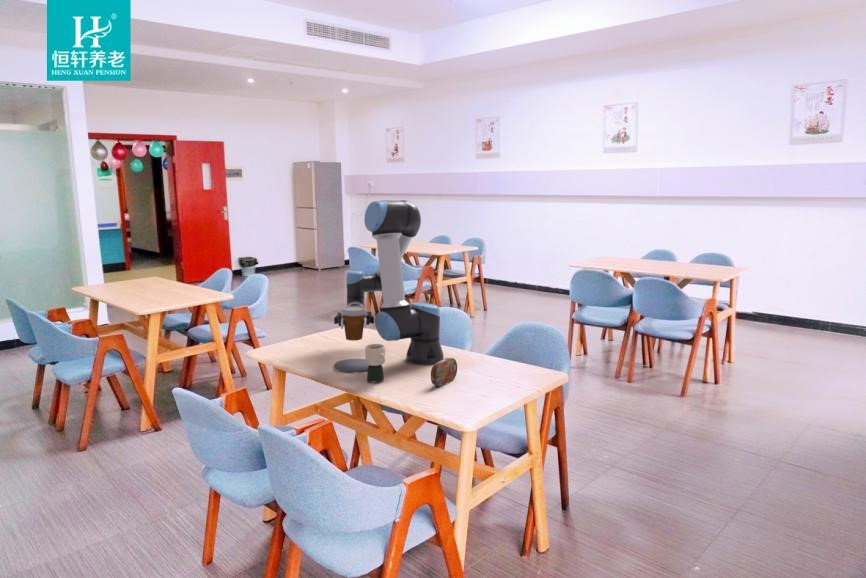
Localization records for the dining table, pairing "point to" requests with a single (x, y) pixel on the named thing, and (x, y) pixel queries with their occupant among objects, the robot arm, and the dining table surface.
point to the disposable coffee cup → (353, 322)
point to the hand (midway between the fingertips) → (353, 325)
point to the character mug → (375, 362)
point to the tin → (443, 372)
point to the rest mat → (351, 365)
